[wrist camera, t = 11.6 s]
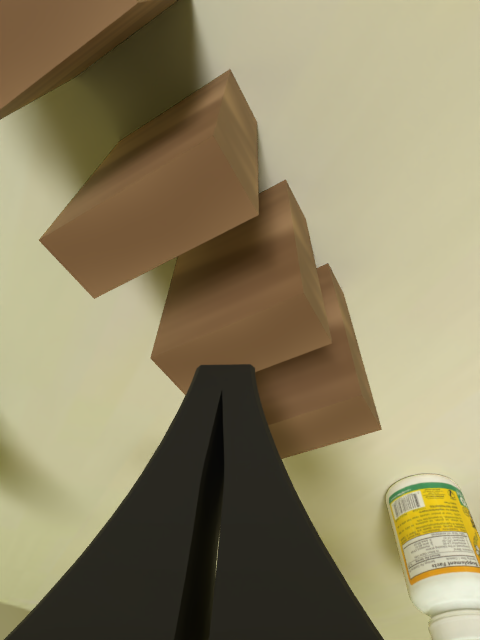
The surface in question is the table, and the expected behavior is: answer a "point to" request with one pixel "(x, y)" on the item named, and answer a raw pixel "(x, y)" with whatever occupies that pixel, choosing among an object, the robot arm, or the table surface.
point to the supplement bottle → (438, 553)
